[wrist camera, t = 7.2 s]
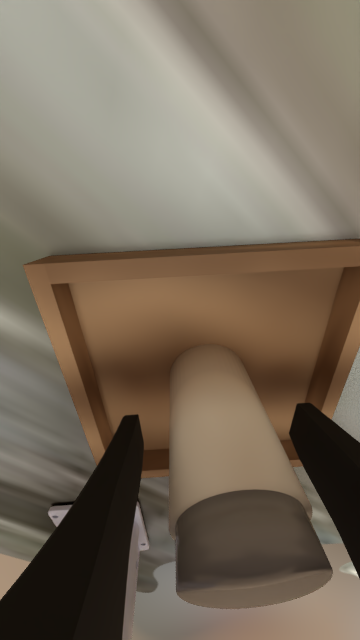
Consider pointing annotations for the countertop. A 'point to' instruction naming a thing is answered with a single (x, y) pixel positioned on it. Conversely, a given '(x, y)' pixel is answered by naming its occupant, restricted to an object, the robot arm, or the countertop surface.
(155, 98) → the countertop surface
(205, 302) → the tray
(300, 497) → the pepper shaker
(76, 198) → the countertop surface
